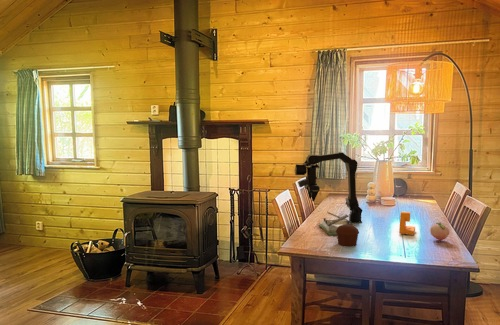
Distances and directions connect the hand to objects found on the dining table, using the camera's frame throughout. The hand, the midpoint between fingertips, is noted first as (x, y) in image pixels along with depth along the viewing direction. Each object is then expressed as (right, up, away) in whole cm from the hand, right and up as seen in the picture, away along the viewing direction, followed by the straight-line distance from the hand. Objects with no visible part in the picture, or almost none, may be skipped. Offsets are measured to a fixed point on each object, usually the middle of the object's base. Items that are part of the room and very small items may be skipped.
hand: (311, 199), depth 234 cm
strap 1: (+13, -9, -12) cm, 20 cm away
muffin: (+11, -19, -43) cm, 48 cm away
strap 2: (+12, -10, -21) cm, 26 cm away
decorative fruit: (+60, -18, -39) cm, 74 cm away
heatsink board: (+12, -16, -16) cm, 26 cm away
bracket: (+50, -17, -23) cm, 58 cm away
